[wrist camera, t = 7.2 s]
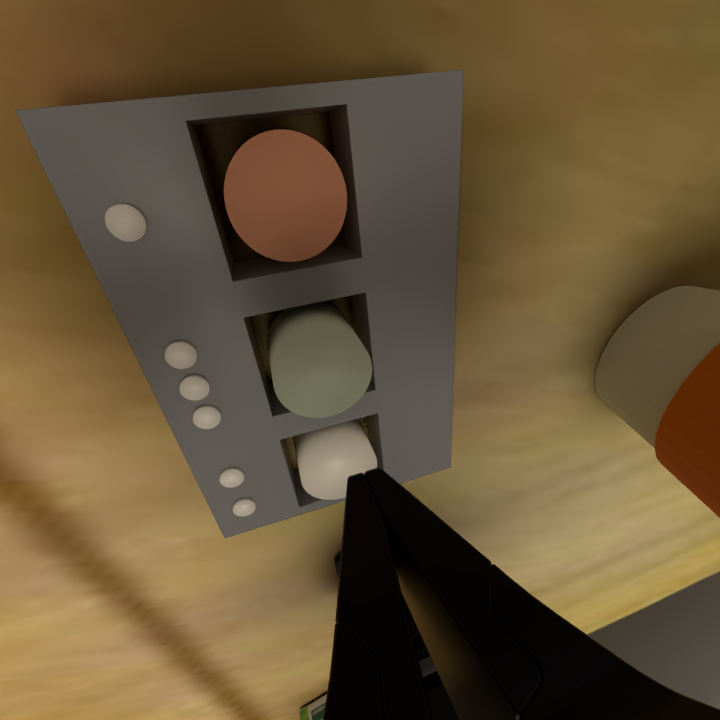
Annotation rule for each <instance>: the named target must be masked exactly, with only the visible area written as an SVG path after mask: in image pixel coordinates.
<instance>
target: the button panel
mask: <svg viewBox="0 0 720 720" xmlns="http://www.w3.org/2000/svg"><path fill="white" fill-rule="evenodd" d="M463 73H464V70H455V71H444V72H433V73H422V74H411V75H400V76H389V77H378V78H367V79H356V80H345V81H334V82H323V83H312V84H301V85H290V86H279V87H268V88H257V89H246V90H235V91H224V92H213V93H202V94H191V95H180V96H169V97H158V98H147V99H136V100H125V101H114V102H103V103H92V104H81V105H70V106H59V107H48V108H37V109H26V110H15V111H16V113H17V115H18V117H19V119H20V121H21V123H22V125H23V127H24V130H25V132H26V134H27V136H28V138H29V140H30V142H31V144H32V146H33V148H34V150H35V152H36V154H37V156H38V158H39V160H40V162H41V164H42V166H43V168H44V170H45V172H46V174H47V176H48V179H49V181H50V183H51V185H52V187H53V189H54V191H55V193H56V195H57V197H58V199H59V201H60V203H61V205H62V207H63V209H64V211H65V213H66V215H67V217H68V219H69V221H70V223H71V225H72V227H73V230H74V232H75V234H76V236H77V238H78V240H79V242H80V244H81V246H82V248H83V250H84V252H85V254H86V256H87V258H88V260H89V262H90V264H91V266H92V268H93V270H94V272H95V274H96V276H97V279H98V281H99V283H100V285H101V287H102V289H103V291H104V293H105V295H106V297H107V299H108V301H109V303H110V305H111V307H112V309H113V311H114V313H115V315H116V317H117V319H118V321H119V323H120V325H121V328H122V330H123V332H124V334H125V336H126V338H127V340H128V342H129V344H130V346H131V348H132V350H133V352H134V354H135V356H136V358H137V360H138V362H139V364H140V366H141V368H142V370H143V372H144V374H145V377H146V379H147V381H148V383H149V385H150V387H151V389H152V391H153V393H154V395H155V397H156V399H157V401H158V403H159V405H160V407H161V409H162V411H163V413H164V415H165V417H166V419H167V421H168V423H169V426H170V428H171V430H172V432H173V434H174V436H175V438H176V440H177V442H178V444H179V446H180V448H181V450H182V452H183V454H184V456H185V458H186V460H187V462H188V464H189V466H190V468H191V470H192V472H193V475H194V477H195V479H196V481H197V483H198V485H199V487H200V489H201V491H202V493H203V495H204V497H205V499H206V501H207V503H208V505H209V507H210V509H211V511H212V513H213V515H214V517H215V519H216V521H217V524H218V526H219V528H220V530H221V532H222V534H223V536H224V538H227V537H231V536H234V535H237V534H240V533H243V532H247V531H250V530H253V529H256V528H259V527H262V526H266V525H269V524H272V523H275V522H278V521H282V520H285V519H288V518H291V517H294V516H298V515H301V514H304V513H307V512H310V511H313V510H317V509H320V508H323V507H326V506H329V505H333V504H336V503H339V502H342V501H345V500H346V497H345V498H341V499H335V500H324V499H319V498H316V497H313V496H312V495H310V494H309V493H307V492H306V491H305V489H304V488H303V486H302V483H301V478H300V473H299V469H297V470H293V469H292V466H291V462H290V459H289V455H288V452H287V448H286V445H285V441H284V439H285V438H289V437H292V436H296V435H300V434H303V433H307V432H311V431H314V430H318V429H322V428H325V427H329V426H333V425H336V424H340V423H344V422H347V421H351V420H355V419H358V418H362V417H367V425H368V433H369V441H370V444H371V446H372V449H373V451H374V453H375V455H376V458H377V468H381V469H383V470H384V471H385V472H386V473H387V474H389V475H390V476H391V477H392V478H393V479H394V480H396V481H397V482H398V483H403V482H406V481H409V480H412V479H415V478H418V477H422V476H425V475H428V474H431V473H434V472H438V471H441V470H444V469H447V468H450V467H451V439H452V408H453V378H454V347H455V317H456V286H457V256H458V225H459V195H460V164H461V134H462V103H463ZM324 112H329V117H330V125H331V133H332V141H333V149H334V157H335V161H336V162H337V164H338V166H339V168H340V170H341V172H342V175H343V178H344V181H345V185H346V191H347V210H346V215H345V219H344V222H343V230H344V238H345V243H343V244H337V245H332V246H328V247H327V248H326V249H325V250H323V251H322V252H321V253H319V254H317V255H315V256H314V257H311V258H309V259H306V260H302V261H295V262H284V261H277V260H274V259H270V258H268V257H264V258H259V259H253V260H247V261H242V262H236V263H233V259H232V256H231V252H230V249H229V245H228V242H227V238H226V235H225V231H224V228H223V224H222V221H221V217H220V214H219V210H218V207H217V203H216V200H215V196H214V193H213V189H212V186H211V182H210V179H209V175H208V172H207V168H206V165H205V161H204V158H203V154H202V151H201V147H200V144H199V140H198V137H197V133H196V130H195V126H203V125H212V124H221V123H231V122H240V121H249V120H259V119H268V118H278V117H287V116H296V115H306V114H315V113H324ZM351 295H352V303H353V311H354V320H355V328H356V335H357V336H358V338H359V339H360V341H361V342H362V344H363V345H364V347H365V349H366V350H367V352H368V354H369V356H370V359H371V363H372V376H371V380H370V383H369V386H368V388H367V390H366V392H365V393H364V394H363V396H362V397H361V398H360V399H359V400H358V401H357V402H356V403H355V404H354V405H353V406H351V407H350V408H349V409H347V410H345V411H343V412H341V413H339V414H336V415H333V416H329V417H324V418H309V417H304V416H300V415H298V414H295V413H293V412H291V411H290V410H288V409H287V408H286V407H285V406H284V405H283V404H282V403H281V402H280V401H279V399H278V397H277V396H276V393H275V390H274V386H273V384H269V385H268V382H267V378H266V375H265V371H264V368H263V364H262V361H261V357H260V354H259V350H258V347H257V343H256V340H255V336H254V333H253V329H252V326H251V322H250V319H249V316H253V315H258V314H263V313H268V312H273V311H278V310H283V309H287V308H292V307H297V306H302V305H307V304H312V303H317V302H321V301H326V300H331V299H336V298H341V297H346V296H351Z"/></svg>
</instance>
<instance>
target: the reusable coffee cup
mask: <svg viewBox="0 0 720 720" xmlns="http://www.w3.org/2000/svg"><path fill="white" fill-rule="evenodd" d="M595 388H596V391H597V395H598V396H599V398H600V399H601V400H602V402H604V403H605V404H606V405H607V406H608V407H609V408H610V409H611V410H612V411H614V412H615V413H616V414H617V415H618V416H619V417H620V418H621V419H623V420H624V421H625V422H626V423H627V424H628V425H629V426H630V427H632V428H633V429H634V430H635V431H636V432H637V433H638V434H639V435H641V436H642V437H643V438H644V439H645V440H646V441H647V442H648V443H650V444H651V445H652V446H653V447H654V448H655V452H656V457H657V459H658V460H659V461H660V463H661V464H662V465H663V466H664V467H665V468H666V469H667V470H668V471H669V472H670V473H672V474H673V475H674V476H675V477H676V478H677V479H678V480H679V481H680V482H681V483H682V484H684V485H685V486H686V487H687V488H688V489H689V490H690V491H691V492H692V493H693V494H694V495H696V496H697V497H698V498H699V499H700V500H701V501H702V502H703V503H704V504H705V505H706V506H708V507H709V508H710V509H711V510H712V511H713V512H714V513H715V514H716V515H717V516H718V517H720V290H714V289H708V288H701V287H695V286H688V285H686V286H679V287H674V288H671V289H669V290H666V291H663V292H661V293H660V294H658V295H656V296H654V297H652V298H651V299H649V300H648V301H646V302H645V303H644V304H642V305H641V306H640V307H638V308H637V309H636V310H635V311H634V312H633V313H632V314H631V315H630V316H629V317H627V319H626V320H625V321H624V322H623V323H622V324H621V325H620V327H619V328H618V329H617V330H616V331H615V333H614V334H613V336H612V337H611V339H610V340H609V342H608V343H607V345H606V347H605V349H604V351H603V353H602V355H601V357H600V360H599V363H598V366H597V369H596V375H595Z"/></svg>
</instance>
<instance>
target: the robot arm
mask: <svg viewBox="0 0 720 720" xmlns="http://www.w3.org/2000/svg"><path fill="white" fill-rule="evenodd" d="M334 562H335V567H336V571H337V575H338V579H339V585H338V597H337V608H336V624H335V630H334V642H333V652H332V660H331V669H330V678H329V684H328V690H327V696H326V702H325V709H324V715H323V720H720V709H717V708H715V707H712V706H710V705H707V704H705V703H702V702H700V701H697V700H695V699H692V698H689V697H687V696H685V695H682V694H680V693H678V692H676V691H674V690H672V689H669V688H668V687H666V686H664V685H662V684H660V683H658V682H656V681H655V680H653V679H651V678H650V677H648V676H646V675H644V674H643V673H641V672H640V671H638V670H637V669H635V668H634V667H632V666H631V665H629V664H628V663H626V662H625V661H624V660H622V659H621V658H619V657H618V656H616V655H615V654H614V653H612V652H610V651H609V650H608V649H607V648H605V647H604V646H602V645H601V644H599V643H598V642H597V641H595V640H594V639H592V638H591V637H589V636H588V635H587V634H585V633H584V632H582V631H581V630H579V629H578V628H577V627H575V626H574V625H572V624H571V623H569V622H568V621H567V620H565V619H564V618H562V617H561V616H559V615H558V614H557V613H555V612H554V611H553V610H551V609H550V608H548V607H547V606H546V605H544V604H543V603H542V602H540V601H539V600H538V599H536V598H535V597H533V596H532V595H531V594H530V593H528V592H527V591H526V590H525V589H523V588H522V587H521V586H520V585H518V584H517V583H516V582H515V581H514V580H512V579H511V578H510V577H509V576H507V575H506V574H505V573H504V572H503V571H502V570H500V569H499V568H498V567H497V566H496V565H494V564H492V566H491V561H490V560H488V559H487V558H486V557H485V556H484V555H483V554H481V553H480V552H479V551H478V550H477V549H476V548H474V547H473V546H472V545H471V544H470V543H468V542H467V541H466V540H465V539H464V538H463V537H461V536H460V535H459V534H458V533H457V532H456V531H454V530H453V529H452V528H451V527H450V526H448V525H447V524H446V523H445V522H444V521H443V520H441V519H440V518H439V517H438V516H437V515H436V514H434V513H433V512H432V511H431V510H430V509H429V508H427V507H426V506H425V505H424V504H423V503H421V502H420V501H419V500H418V499H417V498H416V497H414V496H413V495H412V494H411V493H410V492H409V491H407V490H406V489H405V488H404V487H403V486H401V485H400V484H399V483H398V482H397V481H396V480H394V479H393V478H392V477H391V476H390V475H389V474H387V473H386V472H385V471H384V470H383V469H381V468H374V469H371V470H368V471H366V472H365V473H358V474H355V475H351V476H349V477H348V479H347V489H346V501H345V513H344V525H343V537H342V549H341V554H339V555H337V556H336V557H335V559H334Z"/></svg>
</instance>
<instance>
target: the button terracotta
mask: <svg viewBox="0 0 720 720" xmlns="http://www.w3.org/2000/svg"><path fill="white" fill-rule="evenodd" d="M224 201H225V206H226V211H227V213H228V216H229V219H230V221H231V223H232V225H233V227H234V229H235V230H236V232H237V234H238V235H239V236H240V237H241V239H242V240H243V241H244V242H245V243H246V244H247V245H248V246H249V247H251V248H252V249H253V250H255V251H256V252H258V253H260V254H261V255H263V256H265V257H268V258H270V259H274V260H277V261H284V262H295V261H302V260H306V259H309V258H311V257H314V256H315V255H317V254H319V253H321V252H322V251H323V250H325V249H326V248H327V247H328V246H329V245H330V244H331V243H332V242H333V241H334V239H335V238H336V236H337V235H338V233H339V232H340V229H341V227H342V225H343V222H344V219H345V215H346V210H347V191H346V185H345V181H344V178H343V175H342V172H341V170H340V168H339V166H338V164H337V162H336V161H335V159H334V158H333V156H332V155H331V154H330V153H329V152H328V150H327V149H326V148H325V147H324V146H322V145H321V144H320V143H319V142H317V141H316V140H314V139H313V138H311V137H309V136H307V135H305V134H303V133H300V132H296V131H293V130H285V129H281V130H271V131H266V132H263V133H260V134H258V135H256V136H254V137H252V138H251V139H249V140H248V141H247V142H245V143H244V144H243V145H242V146H241V147H240V148H239V149H238V151H237V152H236V153H235V155H234V156H233V158H232V160H231V162H230V164H229V166H228V169H227V172H226V176H225V182H224Z"/></svg>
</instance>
